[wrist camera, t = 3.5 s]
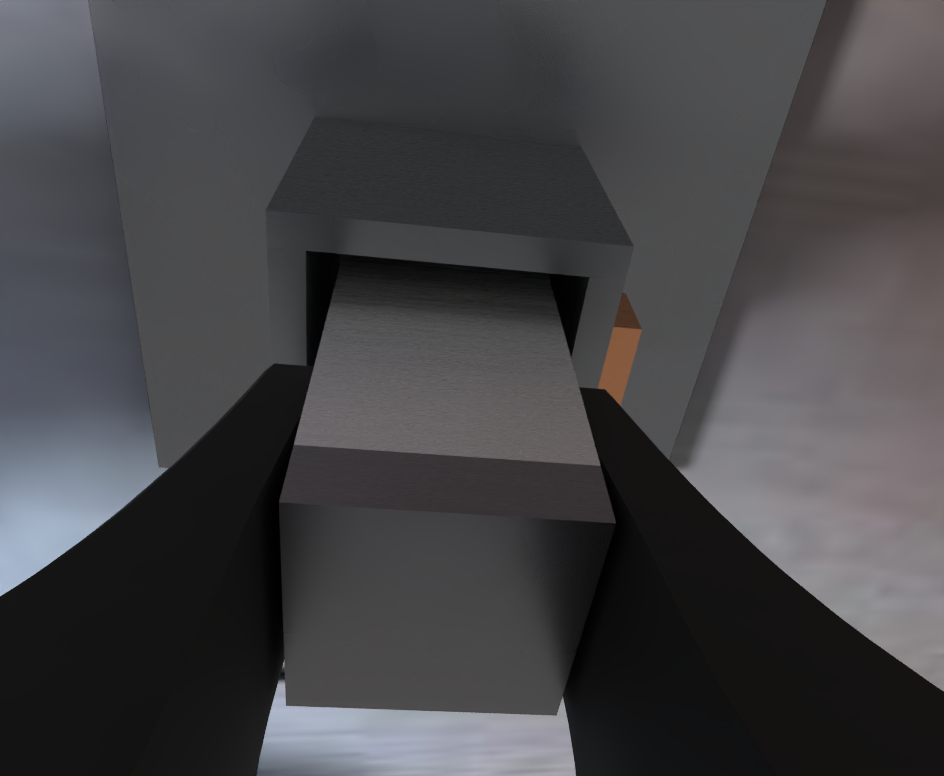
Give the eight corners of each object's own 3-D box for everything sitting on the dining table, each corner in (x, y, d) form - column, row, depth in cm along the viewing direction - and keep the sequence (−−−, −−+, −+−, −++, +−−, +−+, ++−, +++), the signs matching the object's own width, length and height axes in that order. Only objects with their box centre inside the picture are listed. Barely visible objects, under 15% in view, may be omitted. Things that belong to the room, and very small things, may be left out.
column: (506, 352, 15) (557, 715, 8) (354, 340, 15) (285, 705, 8) (530, 208, 13) (615, 523, 7) (359, 191, 13) (279, 502, 6)
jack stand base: (646, 473, 19) (708, 653, 15) (171, 440, 18) (83, 625, 14) (819, -60, 13) (1029, -26, 8) (89, -163, 12) (-134, -189, 7)
